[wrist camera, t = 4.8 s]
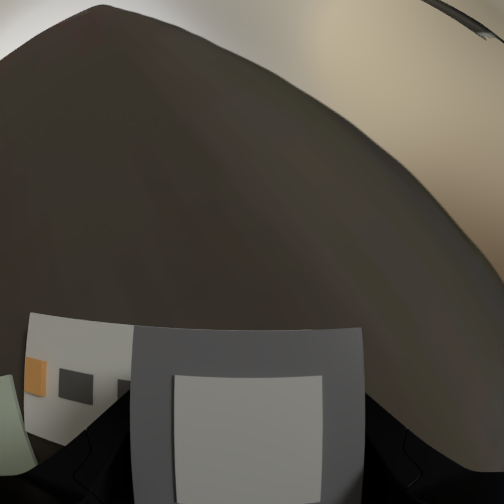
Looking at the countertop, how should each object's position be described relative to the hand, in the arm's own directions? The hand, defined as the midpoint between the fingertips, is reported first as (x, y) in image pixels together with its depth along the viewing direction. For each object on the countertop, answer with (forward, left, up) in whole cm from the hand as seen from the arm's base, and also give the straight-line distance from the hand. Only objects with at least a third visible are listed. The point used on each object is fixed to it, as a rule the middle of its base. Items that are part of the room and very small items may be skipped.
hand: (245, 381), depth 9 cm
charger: (-1, +1, -6) cm, 6 cm away
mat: (0, +22, -8) cm, 23 cm away
